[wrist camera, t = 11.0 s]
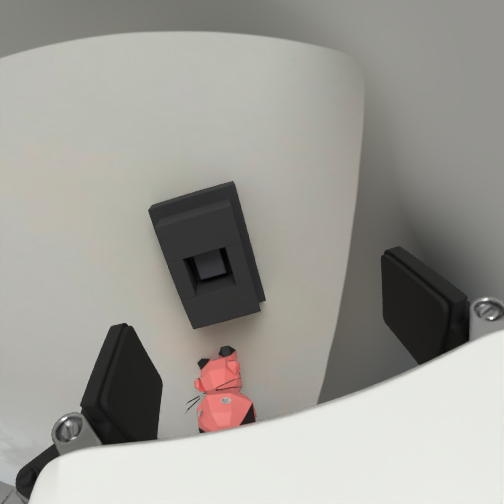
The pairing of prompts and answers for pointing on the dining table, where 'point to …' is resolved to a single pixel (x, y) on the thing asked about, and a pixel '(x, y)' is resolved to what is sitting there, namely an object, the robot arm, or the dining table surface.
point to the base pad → (207, 200)
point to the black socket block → (201, 241)
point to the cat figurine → (222, 394)
